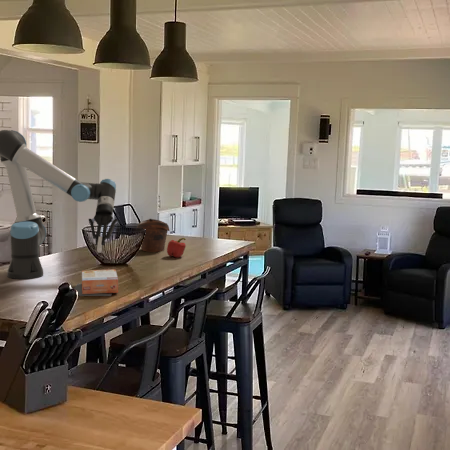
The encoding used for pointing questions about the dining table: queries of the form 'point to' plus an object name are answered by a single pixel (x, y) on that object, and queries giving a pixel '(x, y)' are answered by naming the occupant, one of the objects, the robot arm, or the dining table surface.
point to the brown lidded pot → (154, 235)
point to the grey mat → (79, 289)
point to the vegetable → (176, 248)
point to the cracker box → (99, 281)
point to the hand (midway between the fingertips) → (99, 250)
